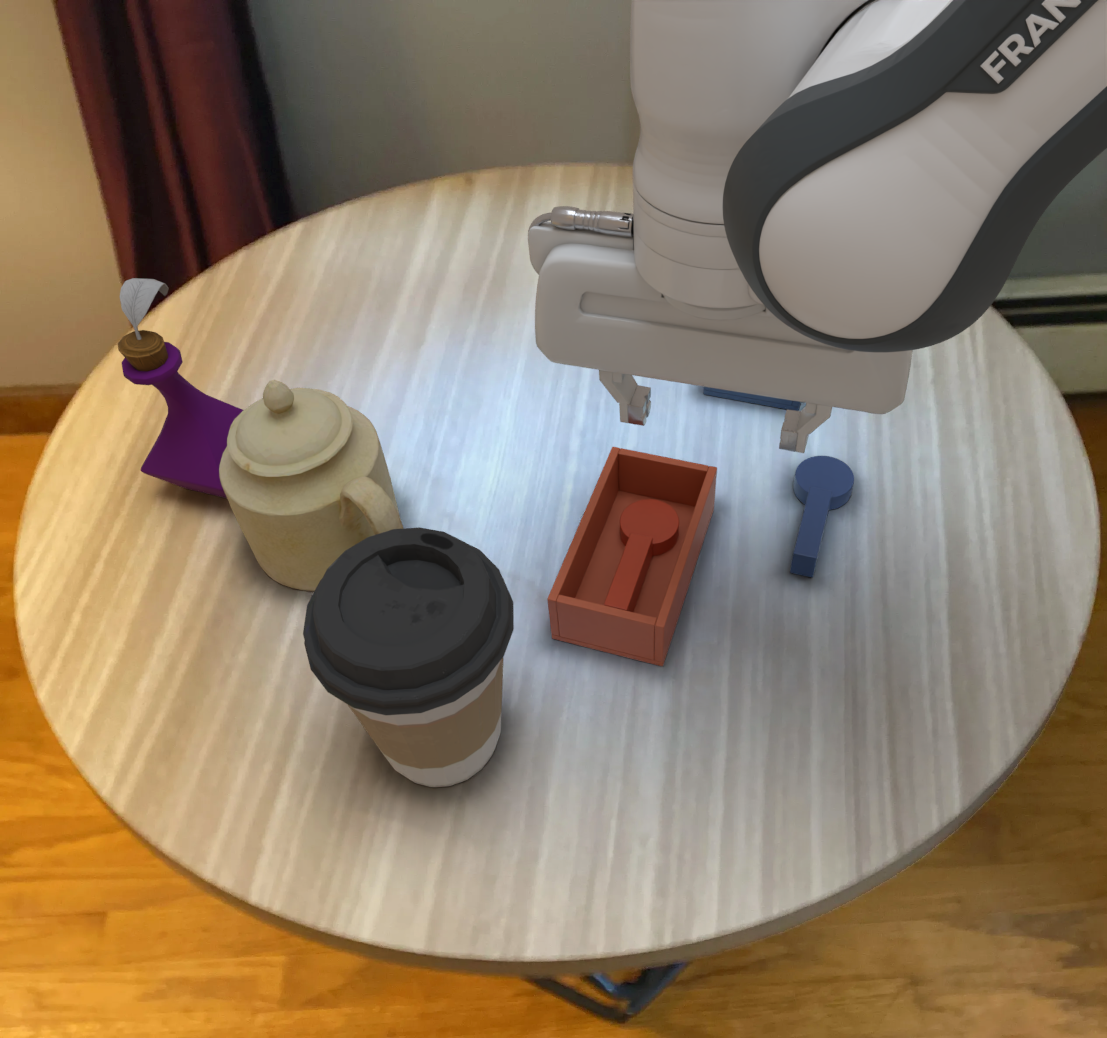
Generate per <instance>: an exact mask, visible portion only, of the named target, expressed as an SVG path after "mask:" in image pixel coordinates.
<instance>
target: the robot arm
mask: <svg viewBox="0 0 1107 1038" xmlns="http://www.w3.org/2000/svg"><path fill="white" fill-rule="evenodd" d="M629 79H630V80H629V81H630V90H631V95H632V100H633V103H634V106H635V109H636V112H637V116H638V122H639V137H638V138H639V139H638V143H637V146H636V150H635V153H634V157H633V161H632V177H631V178H632V179H631V180H632V213H631V212H621V211H612V210H586V209H580V208H579V207H577V206H576V207H575V206H568V205H561V206H560V205H559V206H554V207H553V208H552V209H551V212H545V213H542V214H540V215H538V216H537V217H535V218H534V219H533V221H532V222H531V223H530V225H529V227H528V230H527V245H528V255H529V261H530V265H531V266H532V269H533V270H534V272H536V274H537V275H538V278H537V284H536V293H535V305H534V335H535V337H534V338H535V345H536V348H538V350H539V351H540V352H541V354H543V356H544V357H545V358H546V359H547V360H548V361H549V362H551V363H554V364H559V365H566V366H571V367H578V368H585V369H591V370H597V371H598V378H599V381H600V383H601V384H602V385H603V386H604V388H605V389H606V390H607V392H608V393H609V394H610V395H611V397H612V398H613V399H614V401H615V402H616V403H618V405H619V407H618V410H619V421H620V423H624V424H630V425H636V426H642V427H644V426H646V424H647V418H648V417H649V415H650V413H651V409H652V401H651V397H652V390H651V389H652V387H649V386H645V385H640V384H638V382H637V381H636V379H635V378H634V377H640V378H647V379H653V380H660V381H666V382H673V383H679V384H684V385H685V384H686V385H691V386H697V387H703V388H704V387H710V388H716V389H723V390H729V391H735V392H742V393H748V394H754V395H760V396H767V397H773V398H779V399H786V400H792V401H798V402H801V403H805V406H803V408H802V409H801V410H799V411H795V410H788V409H785V410H786V411H785V413H784V419H783V422H782V426H781V430H780V437H779V439H780V441H779V444H778V449H779V450H783V451H789V452H794V453H799V454H805V453H806V449H807V445H808V440H809V437H810V435H811V434H812V433H813V432H814V431H816V430H817V429H818V428H819V427H820V426H821V425H822V424H823V425H824V423H825V422H827V421H828V420H829V419H830V418H831V415H832V411H833V408H837V409H843V410H850V411H856V412H863V413H869V414H874V415H886V414H888V413H890V412H891V411H893V410H895V409H896V408H898V407H899V406H901V405H902V404H903V403H904V402H905V399H906V392H907V388H908V382H909V377H910V372H911V366H912V359H913V351H915V350H921V349H925V348H929V347H932V346H935V345H939V344H941V343H943V342H946V341H948V340H951V339H952V338H954V337H956V336H958V335H959V334H961V333H963V332H965V330H967V329H968V328H970V327H971V326H972V325H973V324H975V323H976V322H977V321H978V320H979V319H980V318H981V317H983V315H985V313H986V312H987V311H988V310H989V308H990V307H991V306H992V304H993V303H994V302H995V300H996V299H997V297H998V296H999V294H1000V293H1001V291H1002V289H1003V287H1004V286H1005V284H1006V282H1007V280H1008V278H1009V276H1010V274H1011V273H1012V271H1013V269H1014V266H1015V264H1016V263H1017V260H1018V259H1019V256H1020V255H1021V252H1022V250H1023V248H1024V246H1025V244H1026V242H1027V241H1028V238H1029V237H1030V235H1031V233H1032V232H1033V230H1034V228H1035V227H1036V225H1037V224H1038V222H1039V220H1040V219H1041V218H1042V216H1043V214H1044V213H1045V212H1046V211H1047V209H1048V208H1049V206H1050V205H1051V204H1052V202H1054V200H1055V199H1056V198H1057V196H1059V194H1060V193H1061V192H1063V190H1064V189H1065V188H1066V187H1067V186H1068V185H1069V183H1071V181H1072V180H1073V179H1075V178H1076V177H1077V176H1078V175H1079V174H1080V173H1081V172H1082V171H1083V170H1084V169H1085V168H1086V167H1087V166H1089V164H1091V163H1092V162H1093V161H1094V160H1095V159H1096V158H1098V156H1100V155H1101V154H1102V153H1103V152H1104V151H1105V150H1107V0H630V26H629Z"/></svg>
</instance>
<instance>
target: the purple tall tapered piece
mask: <svg viewBox="0 0 1107 1038" xmlns="http://www.w3.org/2000/svg"><path fill="white" fill-rule="evenodd" d="M169 288H170V287H168V285H167V283H165V282H162V281H160V280H157V279H154V278H137V277H135V278H134V277H132V278H130V279H127V280H125V281H124V282H123V284H122V285H121V287H120V291H119V301H120V307H121V311H122V312H123V314H124V315H125V316H126V318H127V320H128V321H129V323H130V324H131V325H132V328H133V330H134V331H132V332H129V333H127V334H125V335H123V336H122V337H121V339H119V341H118V342H117V348H118V352H119V353H120V354H121V355H122V356H123V357H124V358H123V360H122V361H121V369H122V375H123V377H124V378H125V379H126V380H128V381H129V382H131V383H132V384H134V385H137V386H153V387H154V389H156V390H157V391H158V392H159V393H160V394H161V395H162V397H163V398H164V400H165V403H166V406H167V415H166V417H165V419H164V422H163V425H162V427H161V430H160V432H159V435H158V436H157V438H156V440H155V442H154V444H153V445H152V447H151V449H150V450H149V452H148V454H147V456H146V458H145V460H144V461H143V463H142V465H141V467H140V471H141V472H142V473H143V474H144V475H147V476H150V477H153V478H155V479H159V480H161V481H164V482H166V483H169V484H171V485H175V486H177V487H179V488H183V489H186V490H190V491H194V492H197V493H202V494H206V495H211V496H215V497H219V498H224V499H227V497H226V494H225V492H224V490H223V487H222V485H221V481H220V477H219V466H220V462H221V458H222V455H223V452H224V451H225V449H226V447H227V438H228V434H229V430H230V426H231V424H232V423H233V421H234V419H235V418H236V417H237V416H238V415H239V414H240V413H241V412H242V411H243V410H244V409H243V408H240V407H238V406H235V405H232V404H230V403H228V402H225V401H223V400H221V399H218V398H217V397H214V396H211V395H209V394H206V393H204V392H203V391H202V390H199V389H198V388H197V387H196V386H194V385H193V384H192V383H190V381H188V380H187V379H186V378H184V376H183V375H181V374H180V373H179V369H180V368H181V366H182V364H183V358H182V357H183V356H182V353H181V350H180V349H179V348H178V347H177V346H175V345H173V344H172V343H171V342H169V341H165V340H164V337H163V336H162V335H160V334H159V333H158V332H156V331H152V330H146V329H140V330H139V325H140V323H141V322H142V321H143V319H144V318H145V317H146V315H147V313H148V311H149V309H150V307H151V305H152V303H153V301H154V299H155V297H156V296H157V294H158V292H160V294H162V295H163V296H164V297H166V296H167V295H168V292H169Z"/></svg>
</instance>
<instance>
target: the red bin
mask: <svg viewBox="0 0 1107 1038" xmlns="http://www.w3.org/2000/svg"><path fill="white" fill-rule="evenodd" d="M717 474H718V467H717V466H712V465H707V464H703V463H698V462H694V461H689V460H687V461H686V460H683V459H678V458H673V457H667V456H662V455H657V454H652V453H647V452H643V451H638V450H632V449H627V448H623V447H618V446H611V448H610V452H609V453H608V455H607V458H606V461H605V462H604V465H603V467H602V470H601V472H600V475H599V477H598V479H597V482H596V484H595V486H594V489H593V490H592V493H591V495H590V497H589V500H588V502H587V505H586V507H585V510H584V512H583V514H582V516H581V519H580V521H579V524H578V526H577V528H576V530H575V533H574V536H573V538H572V540H571V543H570V545H569V547H568V550H567V552H566V554H565V556H564V559H563V561H562V564H561V565H560V568H559V571H558V573H557V574H556V577H555V580H554V582H553V584H552V587H551V590H550V591H549V594H548V595H547V599H546V600H547V607H548V608H547V609H548V616H549V624H550V633H551V639H552V640H557V641H561V642H564V643H568V644H572V645H575V646H579V647H584V648H588V649H592V650H596V651H599V652H604V653H607V654H611V655H616V656H619V657H623V658H626V659H627V658H628V659H632V660H635V661H640V662H643V663H647V664H651V665H655V666H659V667H664V665H665V661H666V659H667V655H668V652H669V649H670V646H671V643H672V640H673V637H674V633H675V631H676V628H677V624H678V622H679V618H680V616H681V612H682V609H683V606H684V603H685V601H686V598H687V597H686V596H687V593H688V591H689V587H690V584H691V582H692V579H693V576H694V573H695V569H696V567H697V566H696V565H697V562H698V559H699V557H700V554H701V550H702V548H703V545H704V541H705V538H706V535H707V532H708V530H709V527H710V526H709V525H710V523H711V519H712V517H713V513H714V511H715V502H716V501H715V500H716V488H717ZM645 499H654V500H659V501H662V502H665V503H667V504H668V505H670V506H671V507H672V508H673V509H674V510H675V511H676V513H677V515H678V517H679V536H678V540H677V542H676V544H675V545H674V546H673V547H672V548H671V549H670V550H669V551H667V552H665V553H663V554H660V555H656V556H652V560H651V563H650V566H649V568H648V571H647V574H646V577H645V580H644V583H643V586H642V588H641V591H640V594H639V597H638V600H637V603H636V605H635V608H634V611H633V612H630V611H625V610H621V609H617V608H613V607H609V606H605V605H604V602H605V600H606V597H607V594H608V592H609V589H610V586H611V584H612V581H613V578H614V576H615V573H616V570H617V568H618V565H619V562H620V560H621V557H622V554H623V552H624V549H625V545H624V544H623V542H622V540H621V538H620V517H621V514H622V512H623V511H624V510H625V508H626V507H628V506H629V505H630V504H632V503H634V502H636V501H640V500H645Z"/></svg>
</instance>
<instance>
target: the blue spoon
mask: <svg viewBox="0 0 1107 1038" xmlns="http://www.w3.org/2000/svg"><path fill="white" fill-rule="evenodd" d="M854 484H855V475H854V472H853V470H852V469H851V467H850V466H849V465H848V464H847V463H845V462H844V461H843V460H840V459H839V458H836V457H833V456H829V455H815V456H810V457H808V458H806V459H804V460H802V461H801V462H800V463H799V464H798V465H797V466H796V469H795V473H794V477H793V485H792V489H793V493H794V495H795V497H796V498H797V500H798V501H800V503H802V504H804V508H803V513H802V516H801V520H800V524H799V529H798V532H797V536H796V540H795V544H794V548H793V551H792V552H793V553H792V556H791V557H792V558H791V563H790V569H789V573H790V574H794V575H799V576H803V577H808V578H813V577H814V575H815V571H816V566H817V562H818V558H819V554H820V549H821V545H822V541H823V537H824V532H825V527H826V523H827V519H828V515H829V511H831V510H836V509H839V508H842V507H843V506H844V505H845V504H847V503H848V501H849V500H850V499H851V496H852V492H853V488H854Z"/></svg>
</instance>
